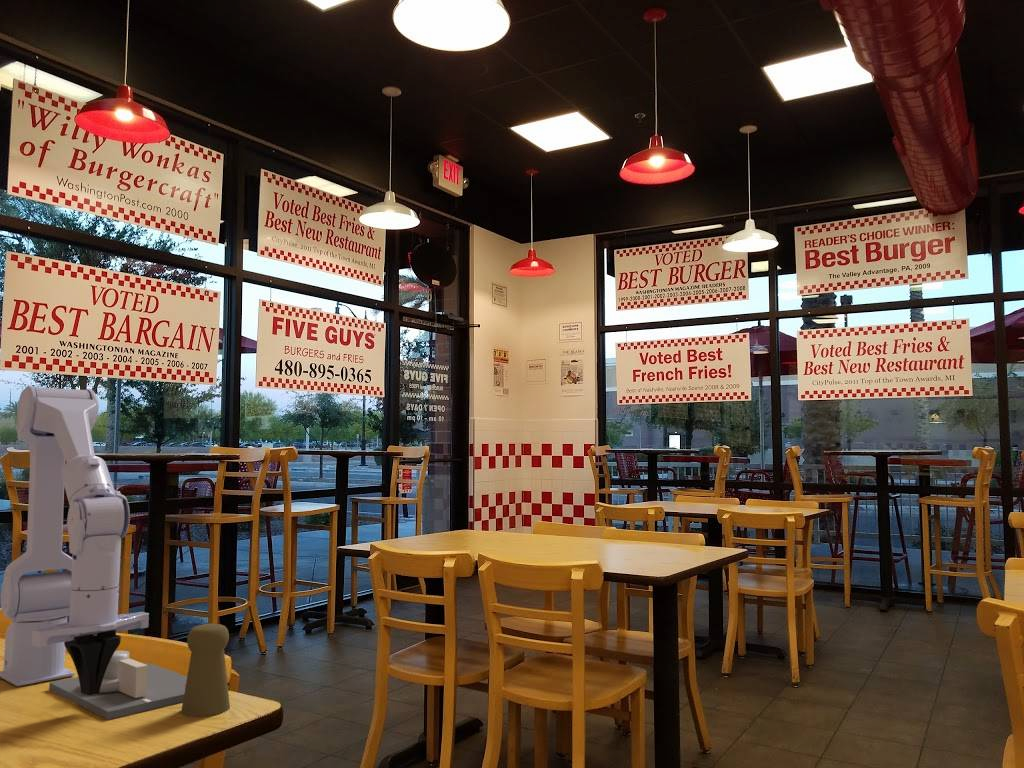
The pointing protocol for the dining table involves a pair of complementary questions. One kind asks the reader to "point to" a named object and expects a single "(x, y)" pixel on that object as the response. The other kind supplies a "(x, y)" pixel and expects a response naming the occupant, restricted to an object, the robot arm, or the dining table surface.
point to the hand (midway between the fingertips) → (90, 692)
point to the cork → (206, 672)
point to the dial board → (110, 705)
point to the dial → (125, 676)
